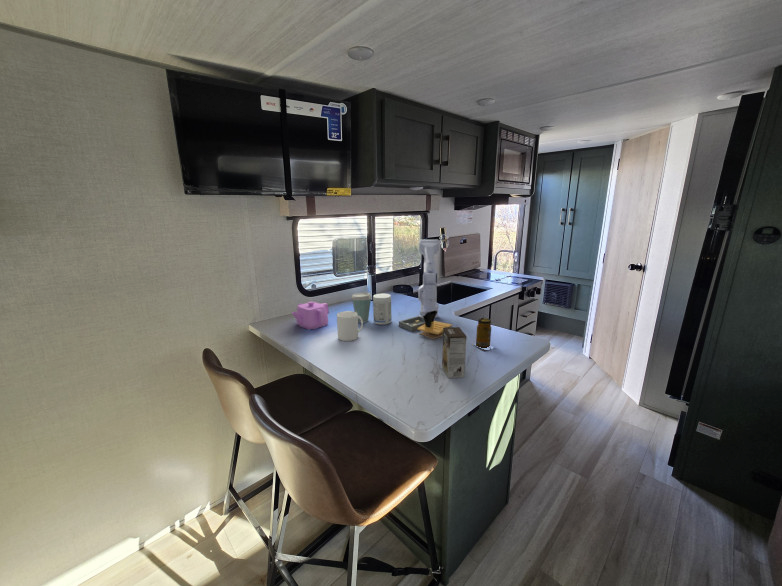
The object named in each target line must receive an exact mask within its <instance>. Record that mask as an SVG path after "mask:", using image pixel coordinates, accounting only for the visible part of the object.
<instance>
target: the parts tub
mask: <svg viewBox="0 0 782 586" xmlns="http://www.w3.org/2000/svg"><path fill="white" fill-rule="evenodd" d="M424 324H425V320H424V318H423V317H421V316H419V315H417V316H413V317H410V318H407V319H403V320H399V321H398V327H400V328H402V329H405V330H406V331H408V332H411V333H413V332H416V331H418V330H417V328H419V327H421V326H422V325H424Z"/></svg>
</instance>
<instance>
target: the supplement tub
mask: <svg viewBox="0 0 782 586" xmlns="http://www.w3.org/2000/svg"><path fill="white" fill-rule="evenodd" d="M372 308H373V309H372V310H373V322H374V324H376V325H378V326H380V325H381V326H382V325H383V326H384V325H389V324H390V323H392V318H393V317H392V296H391V294H389V293H376V294H374V295H373V296H372Z"/></svg>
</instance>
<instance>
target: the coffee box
mask: <svg viewBox="0 0 782 586" xmlns="http://www.w3.org/2000/svg"><path fill="white" fill-rule="evenodd" d="M466 351H467V335H466V334H465V332H464V331H463V330H462V328H461V327H460V326H458V327H457V326H456V327H455V326H451V327H444V328H443V336H442V355H441V357H442V360H441V361H442V362H441V367H442V369H443V371H444V373H445V376H446V377H447V379H452V378H455V379H457V378H465V369H466V368H465V367H466V366H465V365H466V354H467V353H466Z"/></svg>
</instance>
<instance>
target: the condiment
mask: <svg viewBox="0 0 782 586" xmlns="http://www.w3.org/2000/svg"><path fill="white" fill-rule="evenodd" d="M475 337H476V338H475V343H476V346H478V347H481V348H487V347H489V346H490V345H491V338H492V320H491V319H489V318H483V317H481V318H479V319H478V321H477V325H476V336H475ZM473 344H474V343H471V345H472V346H473ZM478 349H479V350H481V351H483V352H485V351H484V349H480V348H478Z"/></svg>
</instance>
